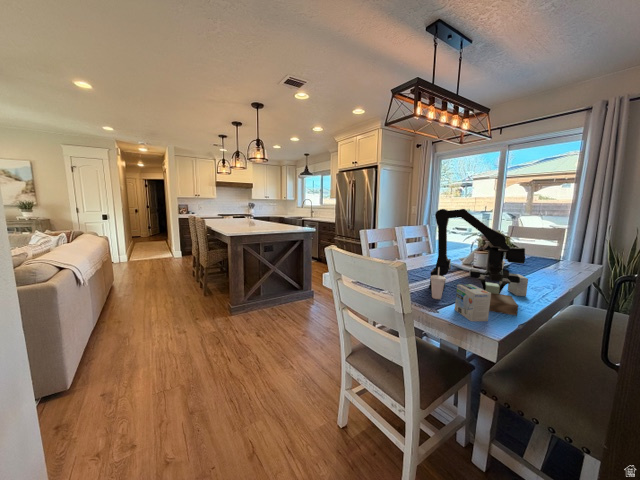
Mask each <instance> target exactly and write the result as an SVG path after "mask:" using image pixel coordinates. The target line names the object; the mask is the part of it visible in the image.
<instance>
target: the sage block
mask: <svg viewBox="0 0 640 480" xmlns="http://www.w3.org/2000/svg"><path fill="white" fill-rule="evenodd" d="M499 290H500V286H499V283H494V282H487V281H485V291H487V292H489V293H495V294H499Z"/></svg>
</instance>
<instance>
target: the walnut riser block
mask: <svg viewBox="0 0 640 480" xmlns="http://www.w3.org/2000/svg"><path fill="white" fill-rule="evenodd" d="M518 310H519V305H518V303H517V302H516V300H515V299H514V298H513V296H512V295H509V294H501V293H500V294H495V293H491V299H490V307H489V312H493V313H498V314H505V315H511V316H518V312H519V311H518Z"/></svg>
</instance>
